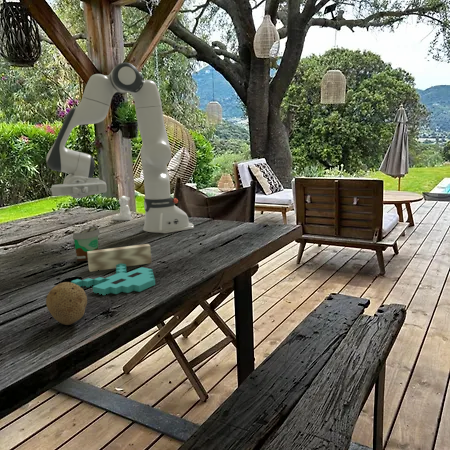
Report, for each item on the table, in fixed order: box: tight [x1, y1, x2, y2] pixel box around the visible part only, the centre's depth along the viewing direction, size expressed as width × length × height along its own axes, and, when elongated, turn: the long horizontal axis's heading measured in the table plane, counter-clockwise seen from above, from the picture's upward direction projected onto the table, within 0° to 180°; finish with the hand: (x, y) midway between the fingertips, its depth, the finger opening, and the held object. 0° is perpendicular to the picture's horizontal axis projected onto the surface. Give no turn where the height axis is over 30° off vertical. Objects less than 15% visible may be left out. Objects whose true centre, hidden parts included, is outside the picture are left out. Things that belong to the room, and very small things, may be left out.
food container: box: [72, 225, 101, 262], centre depth 160 cm, size 12×6×10 cm, turn 168°
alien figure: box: [70, 263, 156, 296], centre depth 134 cm, size 20×2×20 cm
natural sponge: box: [45, 281, 88, 326], centre depth 105 cm, size 9×9×10 cm
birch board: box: [87, 243, 152, 272], centre depth 149 cm, size 20×3×6 cm, turn 114°
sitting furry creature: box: [112, 195, 133, 222], centre depth 225 cm, size 10×9×12 cm
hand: (81, 191), depth 168 cm, fingers closed
